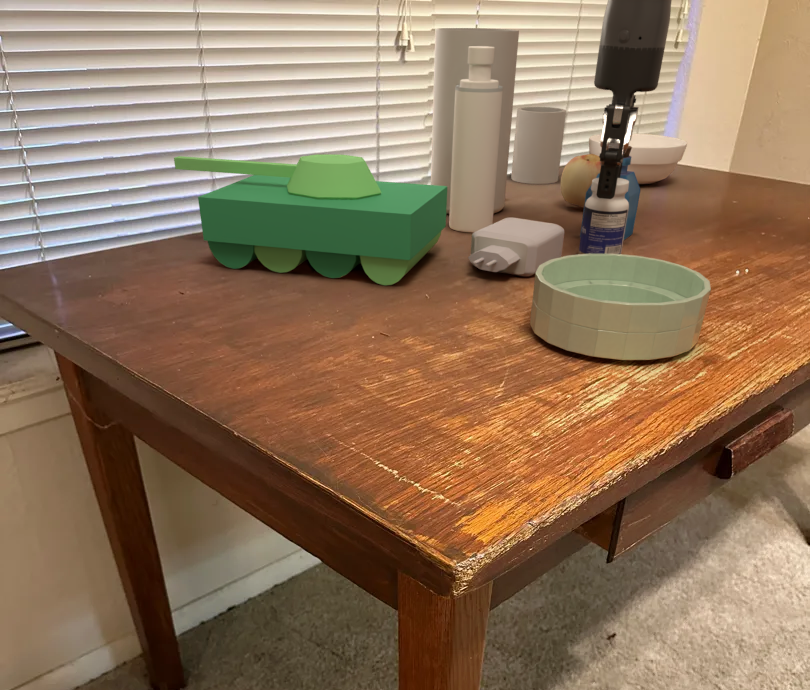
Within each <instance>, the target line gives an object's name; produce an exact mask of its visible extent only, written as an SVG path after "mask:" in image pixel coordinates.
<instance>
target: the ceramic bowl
mask: <svg viewBox="0 0 810 690" xmlns="http://www.w3.org/2000/svg"><path fill="white" fill-rule="evenodd" d="M711 291H712V287H711V281H710V280H709V279H708V278H707V277H706V276H705V275H703V274H702V273H701V272H699V271H696V270H695V269H691V268H689V267H687V266H685V265H682V264H678V263H675V262H671V261H669V260H668V261H667V260H664V259H660V258H654V257H647V256H643V255H636V254H635V255H634V254H622V253H621V254H579V255H578V254H569V255H564V256H561V257H559V258H555V259H551V260H549V261H547V262H545V263H543V264H541V265H539V267H538V269H537V271H536V273H535V274H534V283H533V292H532V301H531V309H530V316H529V317H530V318H529V325H530V327H531V329H532V331H533V333H534V334H535V335H536V336H537V337H539V338H540V339H542V340H543V341H545V342H546V343H548V344H550V345H551V346H554V347H557V348H560V349H563V350H565V351H568V352H572V353H576V354H581V355H585V356H588V357H594V358H601V359H611V360H620V361H652V360H659V359H665V358H673V357H676V356H678V355H681V354H683V353H686V352H690V351H691V350H692V349H693V348H694V346H696V344H698V342H699V339H700V335H701V332H702V327H703V323H704V320H705V315H706V311H707V307H708V304H709V303H708V302H709V299H710V295H711Z"/></svg>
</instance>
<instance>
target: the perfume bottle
mask: <svg viewBox="0 0 810 690" xmlns="http://www.w3.org/2000/svg"><path fill="white" fill-rule="evenodd" d="M631 149H632V147H631V146H628V148H627V151H626V152H625V154H623V155H624V158H623V163H622V169H621V175H620V178H623V179H626V180H628V181H629V187H628V192H626V194H625V199H626V200H627V201H628V203H629V210H628V216H627V221H626V227H625V234H624V240H623V242H624V241H626V240H627V239H628V238H630V237H631V236H632V235H634V227H635V223H636V218H637V210H638V206H639V200H640V196H641V195H640V194H641V187H640V184H638V181H637V179H636V176H635V173H634V172H632V171H627V169H628V165H630V163H631V156H629V154H630V152H631ZM599 175H600V173H599V174H598V175H597V177H596V178H599ZM591 185H592V184H591ZM592 193H593V192H592V190H591V186H590V187H589V189H588V190H587V192H586V197H585V203H586V201H587V199H588V198H589V197H591V196H592ZM584 208H585V204H584V207H583V209H584ZM583 216H584V210H583V212H582V219H581V227H580V233H579V238H580V237H581V230H582V223H583Z"/></svg>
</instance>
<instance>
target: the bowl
mask: <svg viewBox="0 0 810 690" xmlns="http://www.w3.org/2000/svg"><path fill="white" fill-rule="evenodd" d="M601 134H602V133H599V134H594V135H591V136H589V138H588V150H589V151H588V152H589V153H588V154H594V155H597V156H599V155H600V153H601V150H602V147H601V146H600V141H601ZM629 146H631V147H632V149H631V152H630V154H629V156H631V163H630V165H628V169H627V171H632V172H634V173H635V176H636V179H637V181H638V184H639V185H648V184H649V185H650V184H655V183H657V182H659V181H663V180H666V179H667V178H668V177H669V176H670V175H671V174H672V173H673V172H674V171H675V169H676V167H677V165H678V163H679V162H681V161H682V160H683V156H684V154H685V152H686V149H687V147H688V142H687V141H686V140H684V139H682V138H677V137H673V136H666V135H661V134H649V133H634V132H633V133H632V137H631V140H630V141H629Z"/></svg>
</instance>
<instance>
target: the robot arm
mask: <svg viewBox="0 0 810 690" xmlns="http://www.w3.org/2000/svg"><path fill="white" fill-rule="evenodd" d="M672 1H673V0H607V4H606V6H605V9H604V10H605V11H604V14H603V19H602V25H601V32H600V39H599V47H598V53H597V59H596V67H595V74H594V81H593V85H594V87H595V88H596V89H599V90H602V91H603V90H604V91H610V92H611V93H612V97H611V98H612V99H611V103H609V104H606V105H605V106H604V108H603V112H602V113H603V114H602V128H601V133H600V134H601V141H600V146H601V147H602V150H601V153H600V155H599V158H600V161H601V162H600V165H601V169H600V175H599V182H598V188H597V197H598V198H603V199H612V198H613V197H614V195H615V190H616V185H617V179H618V178H620V175H621V169H622V163H623V158H624V155H623V154H625V152H626V151H627V148H628V146H629V141H630V140H631V137H632V133H634V126H635V125H636V123H637V119H638V114H639V106H635V104H636V103H637V98H636V97H637V96H636V94H635V93H637V92H639V93H647V92H653V91H655V90H656V89H657V88H658V85H659V81H660V75H661V69H662V65H663V60H664V54H665V48H666V43H667V38H668V32H669V27H670V21H671V13H672V12H671V11H672Z"/></svg>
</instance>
